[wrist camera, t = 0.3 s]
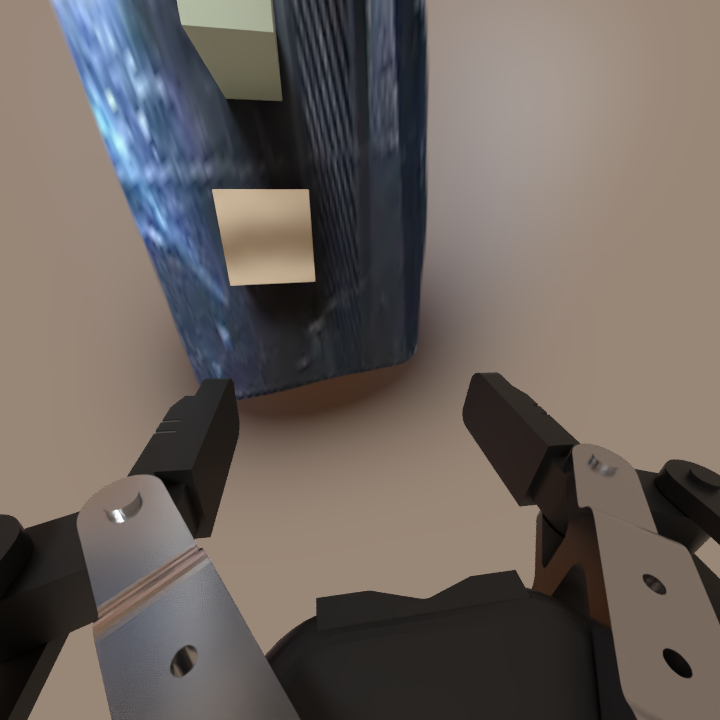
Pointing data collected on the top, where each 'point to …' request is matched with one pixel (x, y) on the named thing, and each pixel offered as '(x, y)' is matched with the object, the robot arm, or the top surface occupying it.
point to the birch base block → (266, 235)
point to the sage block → (236, 45)
